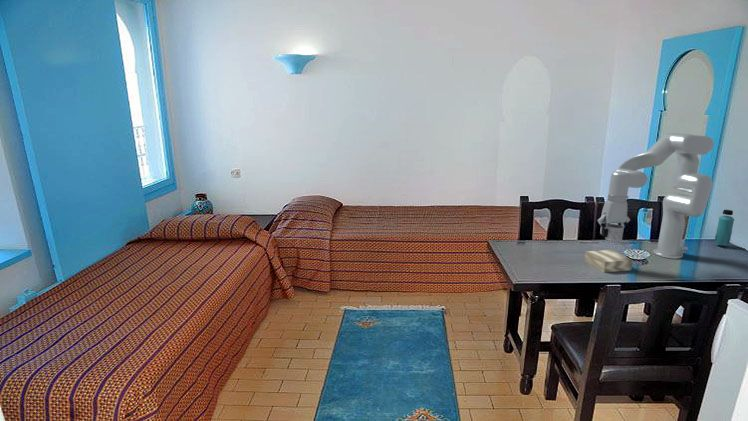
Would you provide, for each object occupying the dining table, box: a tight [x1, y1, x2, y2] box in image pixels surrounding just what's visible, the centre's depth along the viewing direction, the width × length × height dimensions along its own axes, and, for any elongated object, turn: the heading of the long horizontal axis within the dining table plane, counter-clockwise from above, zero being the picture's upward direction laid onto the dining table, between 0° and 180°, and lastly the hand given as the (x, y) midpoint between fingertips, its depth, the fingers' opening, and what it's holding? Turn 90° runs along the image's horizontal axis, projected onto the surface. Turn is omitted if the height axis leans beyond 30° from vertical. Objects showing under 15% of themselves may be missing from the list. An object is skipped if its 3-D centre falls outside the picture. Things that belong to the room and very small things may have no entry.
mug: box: [599, 223, 625, 243], centre depth 200 cm, size 10×7×7 cm
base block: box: [584, 249, 633, 273], centre depth 204 cm, size 14×14×5 cm
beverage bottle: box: [714, 209, 735, 247], centre depth 228 cm, size 6×7×20 cm
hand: (611, 235), depth 201 cm, fingers closed on mug, 6 cm apart
